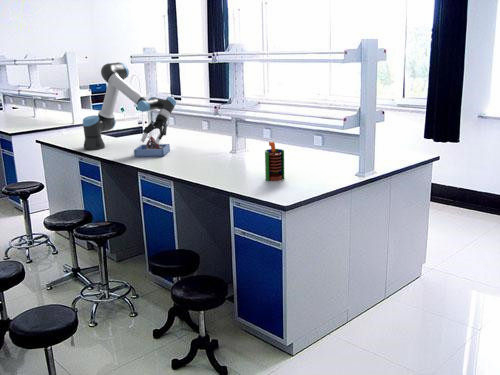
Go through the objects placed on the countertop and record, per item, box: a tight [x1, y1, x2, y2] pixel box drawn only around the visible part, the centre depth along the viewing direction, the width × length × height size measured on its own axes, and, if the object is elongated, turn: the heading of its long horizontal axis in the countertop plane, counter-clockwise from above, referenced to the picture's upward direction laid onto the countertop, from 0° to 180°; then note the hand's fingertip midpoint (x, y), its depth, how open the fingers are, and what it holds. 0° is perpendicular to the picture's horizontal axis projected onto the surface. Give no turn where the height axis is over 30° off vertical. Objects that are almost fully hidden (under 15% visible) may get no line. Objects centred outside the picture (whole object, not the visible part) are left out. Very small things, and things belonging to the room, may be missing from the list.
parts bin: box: [133, 143, 171, 158], centre depth 349 cm, size 20×18×5 cm
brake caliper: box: [145, 136, 163, 149], centre depth 349 cm, size 11×11×12 cm
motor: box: [264, 141, 285, 182], centre depth 272 cm, size 10×9×20 cm
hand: (149, 142), depth 345 cm, fingers open, 13 cm apart
